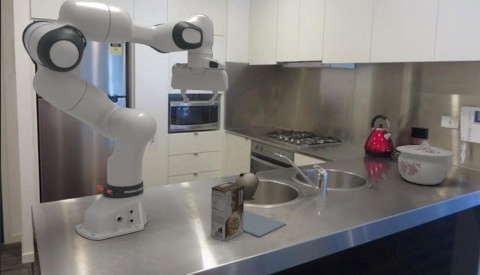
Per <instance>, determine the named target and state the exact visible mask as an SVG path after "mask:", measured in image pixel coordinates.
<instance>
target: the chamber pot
mask: <svg viewBox="0 0 480 275" xmlns="http://www.w3.org/2000/svg"><path fill="white" fill-rule="evenodd" d="M396 151H398V152H400V154H399V156H398V159H397V165H398V170H399V173H400V174H401V176H402V178H403V179H404V180H406V181H407V182H409V183H412V184H415V183H416V185H420V184H421V185H423V186H435V185H439V184H440V183H442V182H443V180H445V179H446V177H448V174H449V172H450V170H451V165H452V163H451V161H450V159H449V158H450V157H453V156H456V155H455V152H453V151H452V150H448V149H445V148H441V147H437V146H431V145H430V144H428V143H427V142H423V143H421V144H420V145H419V144H416V145H415V144H412V145H411V144H409V145H402V146H401V145H400V146H397V147H396Z"/></svg>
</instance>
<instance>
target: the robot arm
mask: <svg viewBox="0 0 480 275" xmlns="http://www.w3.org/2000/svg"><path fill="white" fill-rule="evenodd" d="M214 34H215V32H214V23H213V19H212V18H210V17H209V16H208V15H205V14H200V13H193V14H191V15H190V16H189V17H186V18H185V19H182V20H181V19H180V20H177V21H172V22H167V23H158V24H155V25H152V26H151V25H147V24H143V23H139V22H134V21H133V18H132V16H131V14H130V13H129V11H128V10H127V9H126V8H123V7H121V6H119V5H116V4H113V3H109V2H106V1H101V0H65V1H64V2H63V3H62V4H61V5H60V7H59V11H58V18H57V19H56V21H54V23H53V22H51V21H47V20H36V21H33V22H31V23H29V24H27V25H26V27H25V28H24V29H23V31H22V34H21V41H22V42H21V43H22V44H23V48H24V50H25V51H26V53H27V55H28V56H29V58H30V60H31V61H32V62H31V63H33V64H34V65H35V66H37V70H36V73H35V74H34V76H33V79H32V88H33V90H34V92H35V93H36V94H37V95H39V96H40V97H41V98H42V99H44V101H46V102H47V103H49V104H50V105H52V107H55V108H57V109H58V110H60V111H62V112H64V113H65V114H67V115H69V116H71V117H72V118H75V119H77V120H79V121H81V122H83V123H84V124H85V125H87V126H89V128H91V129H92V130H94V131H95V132H97V133H98V134H99V135H101V136H103V137H105V138H106V139H109V140H115V145H114V149H113V150H112V151H113V152H112V154H111V155H110V156H108V158H107V161H106V165H107V166H106V167H107V168H106V169H107V170H106V172H107V174H106V175H107V176H106V177H107V178H106V179H107V182H106V184H105V185H101V184H97V185H96V187H95V189H96V191H97V192H100V193H102V195H100V197H99V198H97V200H95V202H93V203H92V204H91V205H90V206H89V207H88V208H87V209H86V210H85V213H84V217H83V222H81V223H79V224H77V225H76V229H75V230H76V233H77V234H78V235H80V236H82V237H84V238H86V239H89V240H93V241H101V240H105V239H109V238H114V237H119V236H122V235H127V234H132V233H136V232H139V231H143V230H144V229H145V226H146V224H147V223H148V218H147V215H146V210H145V205H144V197H143V195H144V181H143V158H144V155H145V151H146V148H147V146H148V143H149V142H150V141H152V139H154V137H155V136H156V133H157V125H158V124H157V121H156V118H155V117H154V116H153V115H152V114H150V113H148V112H146V111H144V110H142V109H137V108H132V107H131V108H130V107H124V106H121V105H119V104H116V103H115V102H114V101H112V100H111V99H110V98H109V96H108V93H107V92H105V91H104V90H102V89H101V88H99V87H98V86H96V85H95V84H93V83H91V82H90V81H88V80H87V79H85V78H84V77H82V76H80V75H79V74H77V73H76V72H74V70H75V69H76V68H77V67H79V65H80V64H81V62H82V60H83V57H84V56H83V55H84V51H85V49H86V46H87V44H88V42H96V43H100V44H101V43H102V44H125V43H127V42H128V43H134V44H139V45H145V46H147V47H150V48H151V49H153V50H154V51H156V52H157V53H160V54H170V53H177V52H179V53H180V52H186V51H187V63H186V62H183V63H181V62H176V63H174V64H173V65H172V67H171V80H170V82H171V84H170V86H171V87H170V88H172V90H180V94H181V96H182V98H183V101H182V102H183V104H189V102H190V98H189V97H188V96H187V91H206V92H207V91H208V92H212V95H213V96H212V98H209V99H208V105H215V100H216V98H217V97H218V95H219V92H227V91H228V90H229V75H228V73H227V72H226V69H227V64H225V63H224V62H220V61H218V60H217V59H214V52H213V46H214V42H215V40H214V39H215V35H214Z"/></svg>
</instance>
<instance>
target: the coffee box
mask: <svg viewBox="0 0 480 275" xmlns="http://www.w3.org/2000/svg"><path fill="white" fill-rule="evenodd" d="M244 205H245V201H244V186H243V185H239V184H237V183H235V182H233V181H229V182H228V181H227V182H225V183H222V184H219V185H215V186H212V187H211V204H210V207H211V210H210V211H211V212H210V215H211V216H210V217H211V218H210V236H211V237H212V238H215V239H217V240H220V241H222V242H227V241H229V240H231V239H233V238H235V237H238V236H239V235H241V234H243V233H244V232H243V212H244V211H245V209H244Z"/></svg>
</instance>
